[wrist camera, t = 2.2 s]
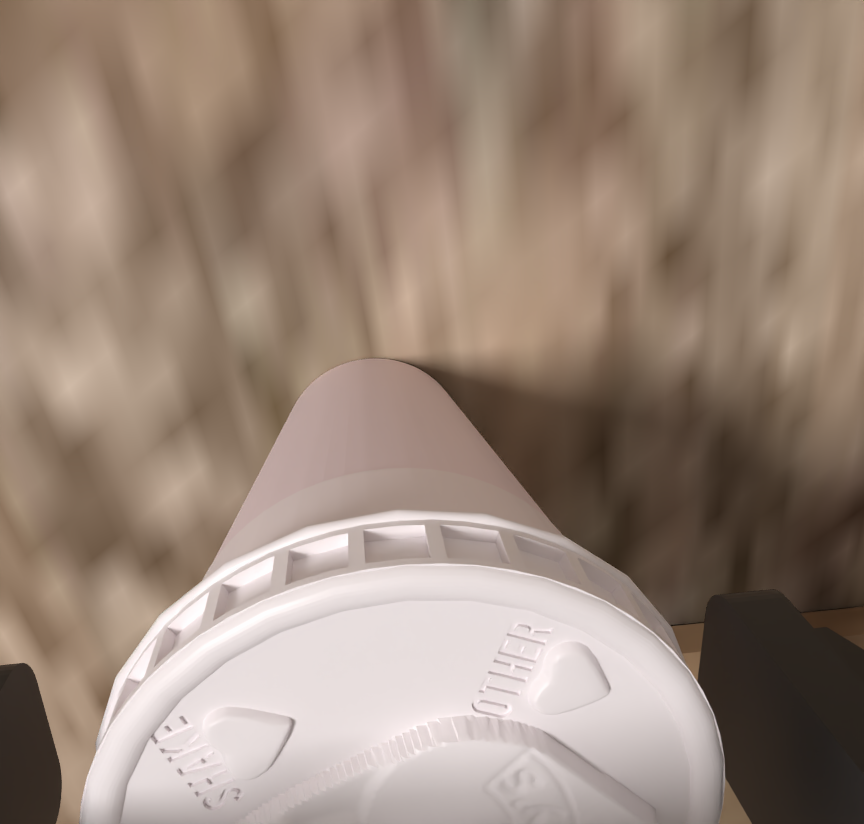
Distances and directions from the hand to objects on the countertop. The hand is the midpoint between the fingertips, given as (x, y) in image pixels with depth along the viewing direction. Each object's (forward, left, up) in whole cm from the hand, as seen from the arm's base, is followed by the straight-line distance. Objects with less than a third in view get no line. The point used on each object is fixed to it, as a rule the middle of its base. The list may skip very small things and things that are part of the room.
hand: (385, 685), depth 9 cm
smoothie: (0, 0, -8) cm, 8 cm away
